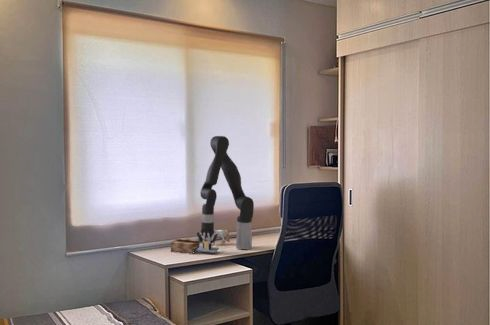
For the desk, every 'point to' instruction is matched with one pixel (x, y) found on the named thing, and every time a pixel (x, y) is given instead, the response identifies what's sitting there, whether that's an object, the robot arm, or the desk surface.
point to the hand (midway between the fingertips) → (207, 248)
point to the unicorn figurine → (222, 235)
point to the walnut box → (184, 245)
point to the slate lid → (207, 248)
